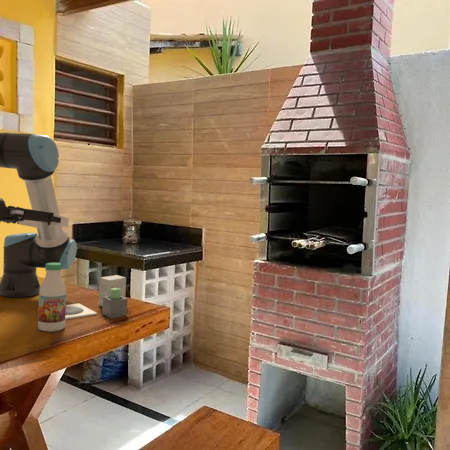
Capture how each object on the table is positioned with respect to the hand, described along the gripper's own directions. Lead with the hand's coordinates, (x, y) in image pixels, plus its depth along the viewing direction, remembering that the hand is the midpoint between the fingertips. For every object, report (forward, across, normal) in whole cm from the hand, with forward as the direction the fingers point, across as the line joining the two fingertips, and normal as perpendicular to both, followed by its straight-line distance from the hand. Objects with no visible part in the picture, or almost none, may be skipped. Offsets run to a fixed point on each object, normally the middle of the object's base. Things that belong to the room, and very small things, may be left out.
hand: (52, 222), depth 138 cm
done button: (+29, +1, -23) cm, 37 cm away
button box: (+30, +1, -27) cm, 40 cm away
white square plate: (+21, -12, -27) cm, 36 cm away
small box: (+37, -8, -24) cm, 45 cm away
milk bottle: (+7, -3, -32) cm, 32 cm away
